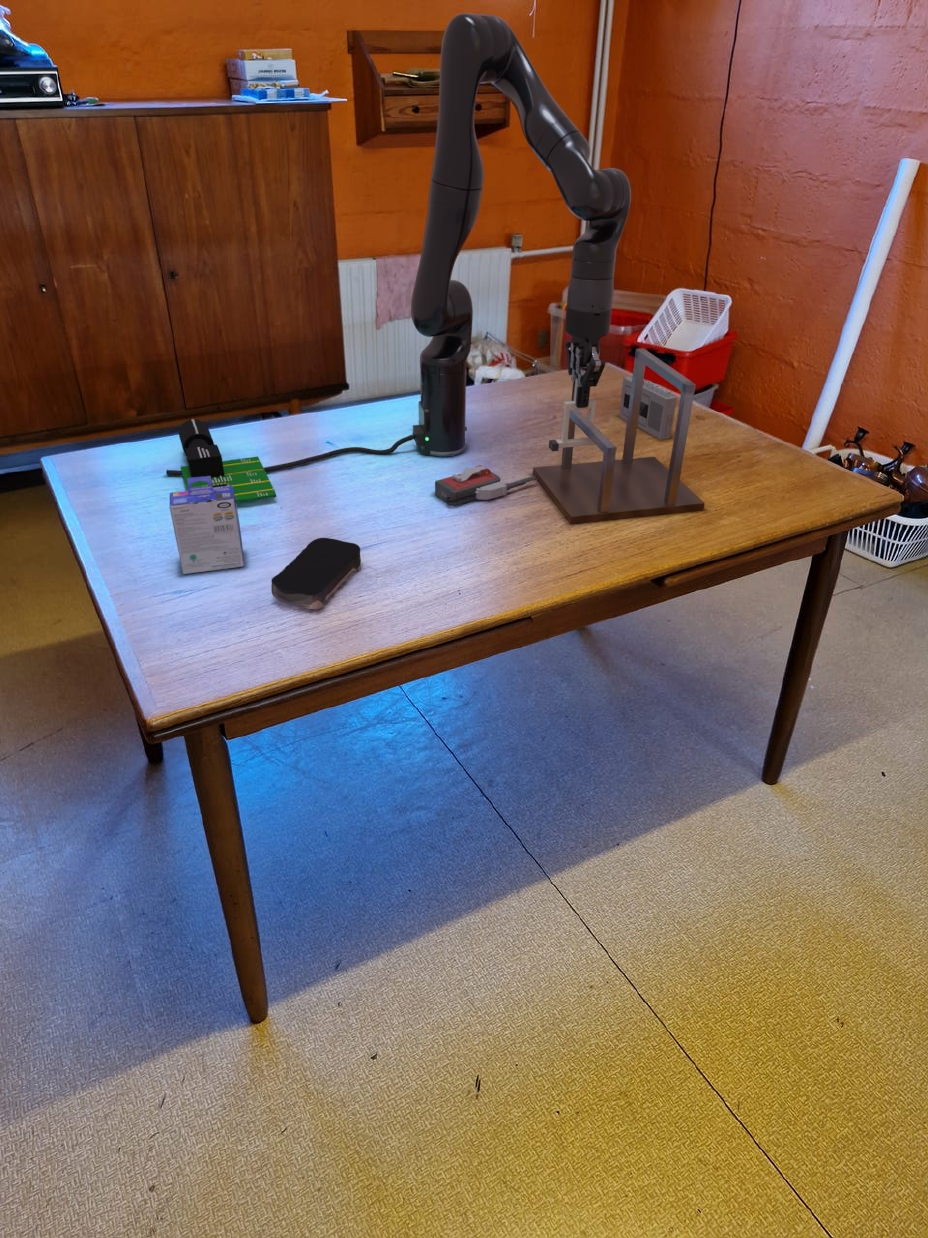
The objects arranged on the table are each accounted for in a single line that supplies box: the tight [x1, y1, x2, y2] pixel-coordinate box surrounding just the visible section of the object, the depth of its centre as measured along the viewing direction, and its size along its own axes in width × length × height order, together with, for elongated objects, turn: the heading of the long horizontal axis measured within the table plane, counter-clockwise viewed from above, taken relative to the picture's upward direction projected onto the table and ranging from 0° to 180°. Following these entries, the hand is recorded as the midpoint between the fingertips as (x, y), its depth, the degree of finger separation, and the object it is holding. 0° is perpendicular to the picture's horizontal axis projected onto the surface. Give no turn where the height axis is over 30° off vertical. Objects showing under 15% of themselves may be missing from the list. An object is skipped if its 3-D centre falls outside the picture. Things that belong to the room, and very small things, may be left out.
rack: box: [532, 348, 706, 525], centre depth 156 cm, size 26×22×24 cm
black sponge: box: [270, 537, 362, 610], centre depth 132 cm, size 16×8×4 cm, turn 160°
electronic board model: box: [178, 418, 277, 504], centre depth 164 cm, size 30×7×15 cm
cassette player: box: [618, 375, 678, 441], centre depth 188 cm, size 16×3×10 cm, turn 27°
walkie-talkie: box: [434, 464, 537, 506], centre depth 161 cm, size 9×4×20 cm
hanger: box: [548, 378, 597, 452], centre depth 152 cm, size 11×2×13 cm, turn 104°
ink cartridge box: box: [168, 476, 245, 575], centre depth 134 cm, size 10×6×14 cm, turn 107°
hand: (579, 404), depth 151 cm, fingers closed on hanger, 1 cm apart
